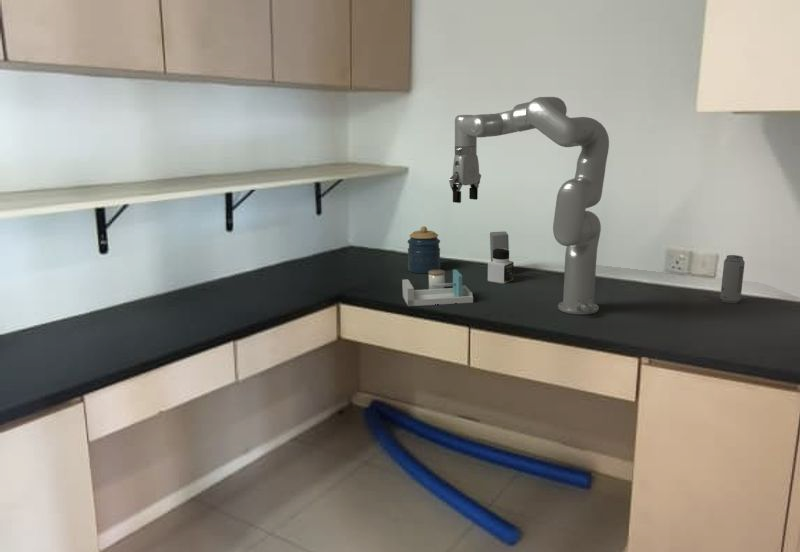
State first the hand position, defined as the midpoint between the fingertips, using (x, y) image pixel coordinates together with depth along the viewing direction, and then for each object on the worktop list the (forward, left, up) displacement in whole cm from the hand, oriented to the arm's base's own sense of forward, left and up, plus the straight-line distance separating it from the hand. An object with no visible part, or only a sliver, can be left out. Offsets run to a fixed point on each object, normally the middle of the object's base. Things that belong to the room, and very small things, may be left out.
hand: (465, 200), depth 242 cm
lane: (-14, +13, -31) cm, 37 cm away
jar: (-3, +11, -31) cm, 33 cm away
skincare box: (+18, -18, -31) cm, 40 cm away
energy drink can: (-35, -81, -31) cm, 94 cm away
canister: (+28, +10, -31) cm, 43 cm away
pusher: (-14, +10, -30) cm, 35 cm away
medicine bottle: (+6, -15, -31) cm, 35 cm away
